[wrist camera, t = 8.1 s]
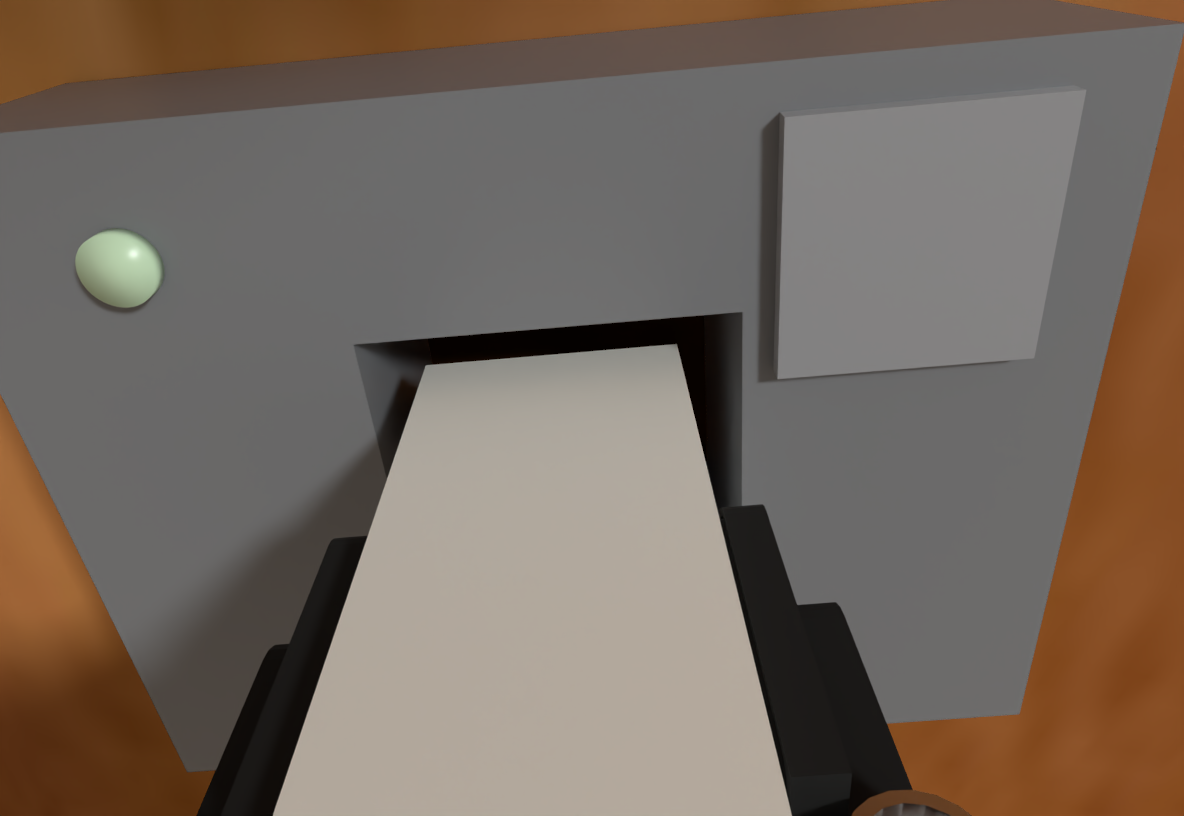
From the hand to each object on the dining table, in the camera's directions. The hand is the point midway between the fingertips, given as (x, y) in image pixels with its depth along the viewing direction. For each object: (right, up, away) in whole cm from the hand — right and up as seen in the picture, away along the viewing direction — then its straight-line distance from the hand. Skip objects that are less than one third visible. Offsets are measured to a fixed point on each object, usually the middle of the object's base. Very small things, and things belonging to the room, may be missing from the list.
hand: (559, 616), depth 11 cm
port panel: (0, +4, +6) cm, 7 cm away
